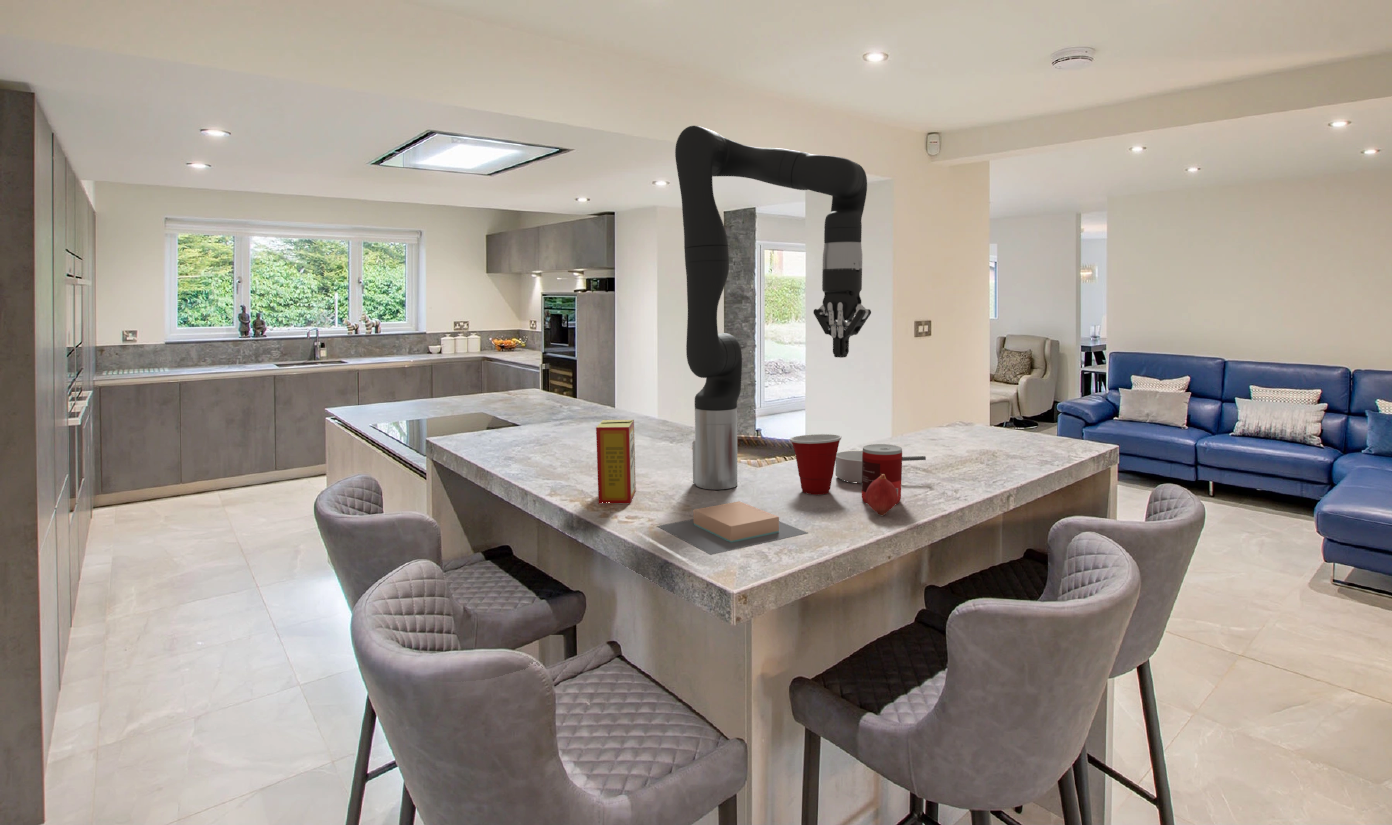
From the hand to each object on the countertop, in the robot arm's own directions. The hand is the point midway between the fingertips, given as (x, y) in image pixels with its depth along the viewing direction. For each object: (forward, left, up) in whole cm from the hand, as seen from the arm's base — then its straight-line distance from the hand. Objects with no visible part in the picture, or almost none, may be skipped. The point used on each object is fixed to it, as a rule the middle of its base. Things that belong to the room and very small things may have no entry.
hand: (840, 357), depth 147 cm
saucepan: (-5, +21, -29) cm, 36 cm away
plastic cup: (-8, +2, -29) cm, 30 cm away
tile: (+2, -24, -27) cm, 36 cm away
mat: (+1, -30, -29) cm, 42 cm away
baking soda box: (-32, -32, -29) cm, 54 cm away
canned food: (+6, +6, -29) cm, 30 cm away
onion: (+12, -2, -29) cm, 32 cm away
